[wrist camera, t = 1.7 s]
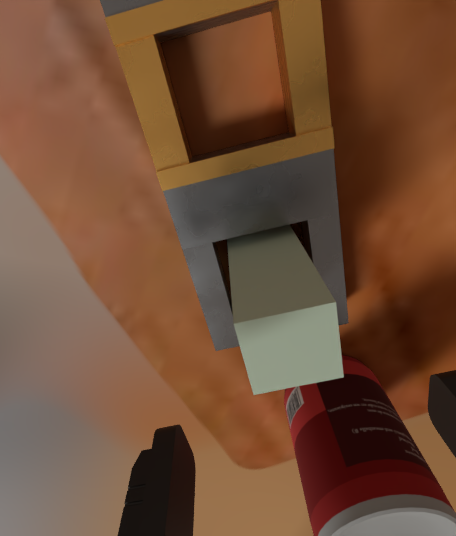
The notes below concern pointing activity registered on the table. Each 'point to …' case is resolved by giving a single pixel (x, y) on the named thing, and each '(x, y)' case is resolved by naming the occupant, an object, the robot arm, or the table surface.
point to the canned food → (362, 461)
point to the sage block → (282, 312)
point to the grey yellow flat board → (241, 156)
